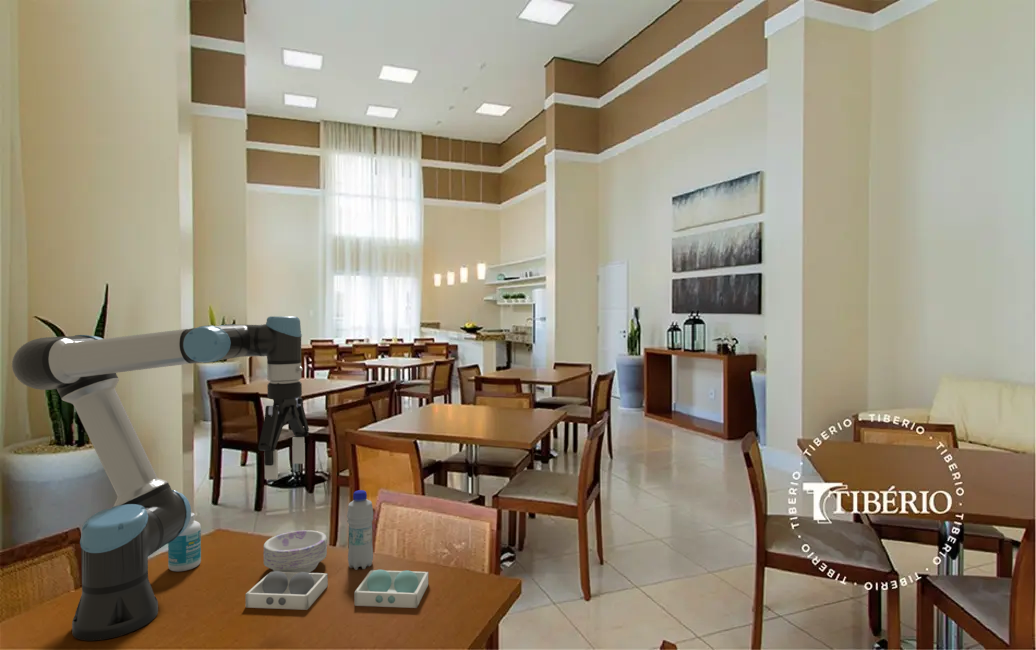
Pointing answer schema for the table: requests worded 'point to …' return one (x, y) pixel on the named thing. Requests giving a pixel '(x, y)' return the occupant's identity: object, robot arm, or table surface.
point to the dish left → (286, 594)
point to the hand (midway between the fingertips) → (285, 470)
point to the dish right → (391, 593)
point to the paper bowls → (295, 551)
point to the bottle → (360, 531)
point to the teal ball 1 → (379, 581)
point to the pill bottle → (186, 548)
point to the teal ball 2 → (406, 582)
